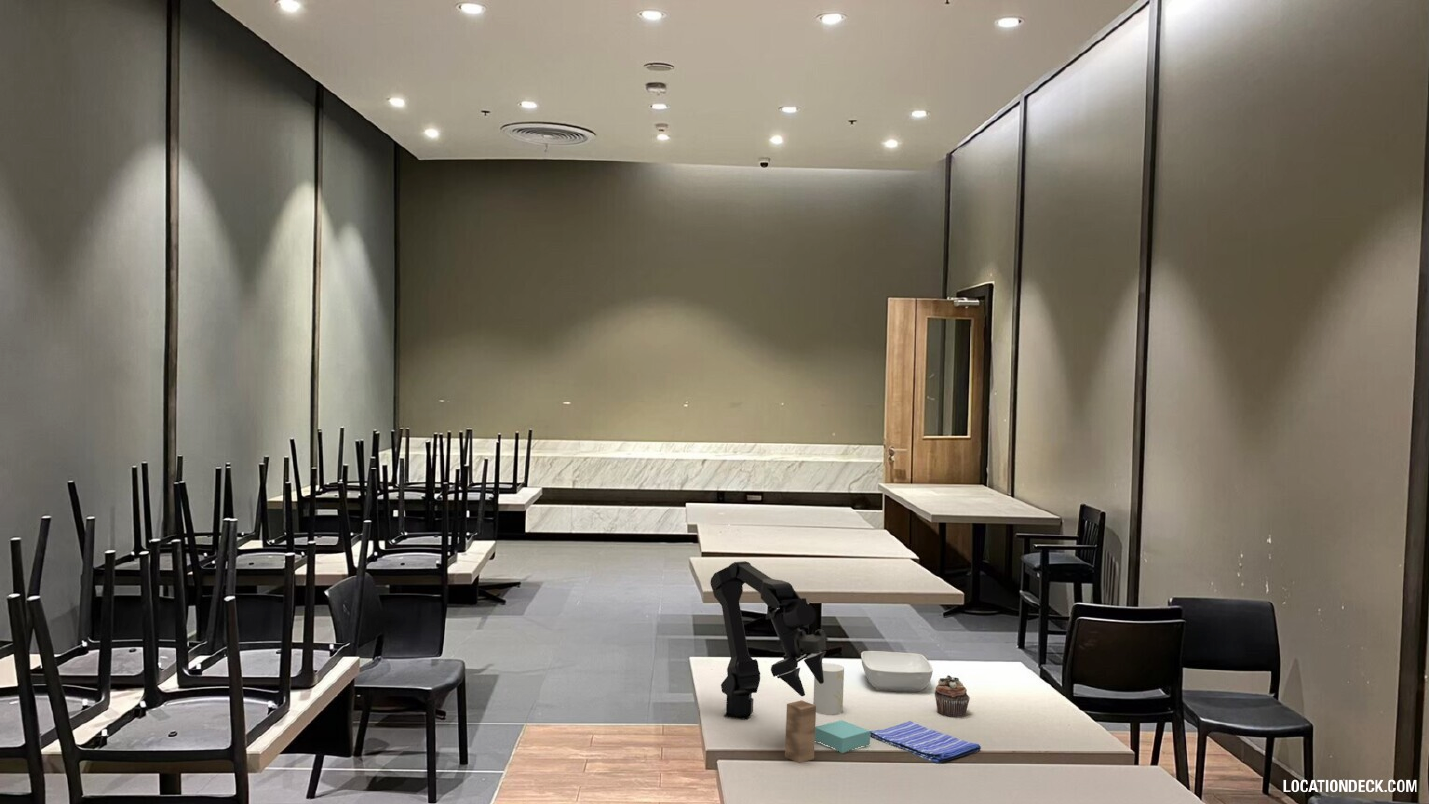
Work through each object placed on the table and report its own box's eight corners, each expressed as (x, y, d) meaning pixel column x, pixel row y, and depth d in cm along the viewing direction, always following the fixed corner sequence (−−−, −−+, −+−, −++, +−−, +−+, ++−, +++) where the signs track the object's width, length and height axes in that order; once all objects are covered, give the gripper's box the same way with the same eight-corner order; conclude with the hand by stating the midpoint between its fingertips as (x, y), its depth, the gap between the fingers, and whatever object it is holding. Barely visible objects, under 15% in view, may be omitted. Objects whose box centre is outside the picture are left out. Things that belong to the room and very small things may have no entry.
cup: (841, 715, 289) (842, 672, 288) (811, 712, 290) (813, 669, 290) (843, 706, 297) (845, 664, 296) (814, 704, 298) (816, 661, 298)
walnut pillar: (784, 756, 256) (786, 703, 256) (799, 752, 260) (801, 700, 259) (799, 762, 252) (801, 709, 252) (814, 758, 256) (816, 705, 255)
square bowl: (935, 696, 310) (936, 670, 309) (865, 694, 310) (866, 668, 310) (922, 676, 330) (923, 652, 330) (857, 674, 330) (858, 649, 330)
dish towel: (940, 766, 255) (940, 755, 255) (866, 738, 273) (867, 727, 273) (983, 752, 266) (983, 741, 266) (910, 726, 284) (910, 715, 284)
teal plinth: (813, 742, 268) (814, 726, 268) (841, 735, 274) (841, 719, 274) (842, 754, 260) (842, 738, 260) (869, 746, 266) (870, 730, 266)
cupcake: (962, 720, 288) (964, 684, 288) (928, 713, 293) (930, 677, 293) (973, 711, 296) (975, 676, 296) (940, 705, 301) (942, 670, 301)
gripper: (792, 633, 256) (818, 694, 254) (830, 612, 271) (855, 669, 269) (759, 645, 263) (784, 705, 261) (798, 623, 278) (822, 680, 275)
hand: (812, 689), depth 266 cm, fingers open, 9 cm apart
